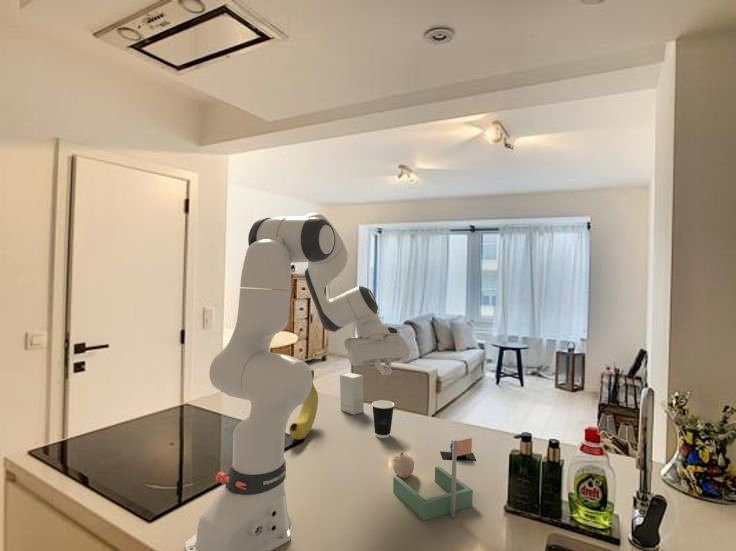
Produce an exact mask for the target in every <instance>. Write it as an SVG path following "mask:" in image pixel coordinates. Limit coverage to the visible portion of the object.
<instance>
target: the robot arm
mask: <svg viewBox="0 0 736 551" xmlns="http://www.w3.org/2000/svg"><path fill="white" fill-rule="evenodd" d="M247 242H248V247H247V249H246V253H245V256H244V261H243V265H242V269H241V276H240V284H239V287H240V288H239V298H238V308H237V317H236V323H235V328H234V329H233V330H234V331H233V332H232V336H231V337H230V339H229V342H228V343H227V345H226V346H225V347H224V348H223V350H221V351H220V352H219V353H217V354H216V355H215V357H214V358H213V360H212V362H211V363H210V364H211V365H210V368H209V381H210V383H211V386H213V387H214V388H215V389H216V390H218V391H220V392H221V393H223V394H226V395H227V396H229V397H232V398H237V399H241V400H245V401H249V402H250V405H251V406H250V412H249V415H248V417H246V418H245V419H243V420H242V421H240V422H239V423H238V424H237V425H236V426H235V428H234V430H233V433H232V463H231V464H230V466H229V471H228V473H225V472H224V471H219V472H218V473H217V475H216V476H215V480H216V482H218V483H221V484H223V485H224V484H225V486H224V487H223V488H222V489H221V490H220V492H219V493H218V494H217V496H215V498H214V499H213V500H212V502H211V503H210V504H209V505H208V506H207V508H205V510H204V511H203V512H202V514H201V515H200V518H199V520H198V524H197V530H196V533H195V534H194V535H193V536H192V537H190V538H189V539H188V540H186V541H185V542H184V546H183V547H184V548H183V550H184V551H273V550H275V549H277V548H278V547H281V546H282V545H284V544H286V543H288V542H289V541H290V540H291V538H292V537H291V530H290V527H291V526H290V525H291V519H290V516H289V512H288V507H287V496H286V489H285V480H286V476H287V475H286V474H287V467H286V466H287V465H286V464H287V463H286V459H285V442H286V441H285V438H286V429H287V424H288V421H289V420H290V419H289V418H290V417H291V415H292V414H293V412H294V411H295V409H297V407H299V406H301V405H302V404H303V402H304V401H305V400H306V398H307V397H308V395H309V394H310V391H311V388H312V383H313V384H314V378H312V372H311V370H312V369H311V368H310V366H309V364H308V363H307V362H305V361H303V360H301V359H299V358H297V357H295V356H291V355H289V354H283V353H278V352H270V347H271V344H272V341H273V339H274V337H275V336H276V335H277V334H279V333H281V332H282V331H284V330H285V329H286V328H287V327H288V324H289V322H290V308H291V293H292V291H291V289H292V272H291V271H292V269H291V265H292V263H307V264H308V265H307V268H306V269H305V270H304V278H305V282H306V286H307V288H308V290H309V294H310V296H311V299H312V301H313V304H314V306H315V308H316V312H317V318H318V321H319V323H320V325H321V327H323V328H324V329H323V330H326V331H329V332H334V333H336V332H337V331H339V330H341V329H342V328H344V327H346V326H348V325H350V324H351V323H352V324H353V326H355V329H356V331H355V332H356V335H357V336H355V337H347V338H346V339H345V340H344V346H345V349H346V350H347V357H348V360H349V364H350V365H351V366H352V367H355V366H356V367H357V366H366V365H374V367H375V368H376V369H377V370H378V371H379V372H380V374H381V375H382V376H386V375H391V374H392V373H393V370H392V363H397V362H405V361H407V360H408V359H409V358H410V354H411V351H410V348H409V346H408V344H407V342H406V340H405V338H404V337H403V336H401V335H400V334H401V331H400V329H398V328H397V327H392V326H388V325H385V324H383V323H382V321H381V320H380V318H379V313H378V311H379V310H378V309H379V306H378V303H377V301H376V299H375V297H374V293H373V292H372V290H371V289H369V288H367V287H365V286H362V285H359V286H356V287H354V288H351V289H349V290H347V291H345V292H343V293H341V294H339V295H337V296H334V297H333V298H329V299H327V296H326V294H325V291H324V290H326V289H325V288H326V287H327V286H329V285H330V283H331V282H332V281H333V280H335V279H336V278H337V277H338V276H340V274H342V272H343V271H344V270H345V267H346V266H347V264H348V257H349V256H348V255H349V254H348V251H347V248H346V245H345V243H344V241H343V239H342V237H341V236H340V234H339V232H338V231H337V229H336V228H335V227H334V225H333V224H332V223H331V222H330V221H329V220H328V218H326V216H325V215H323V214H321V213H318V212H309V213H307V214H305V215H303V216H292V215H291V216H290V215H287V216H285V215H284V216H277V217H265V218H262V219H258V220H257V221H255V222H253V224H252V225H251V227H250V230H249V232H248V238H247ZM383 364H384V365H383ZM384 366H385V367H384Z"/></svg>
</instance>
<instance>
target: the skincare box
mask: <svg viewBox="0 0 736 551" xmlns="http://www.w3.org/2000/svg"><path fill="white" fill-rule="evenodd" d="M339 387H340V388H339V391H340V399H339V400H340V411H342V412H344V413H348V414H350V415H353V416H354V415H358V414H361V413H364V411H365V410H364V375H363V374H357V373H353V372H347V373H343V374H340V375H339Z"/></svg>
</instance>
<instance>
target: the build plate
mask: <svg viewBox="0 0 736 551" xmlns="http://www.w3.org/2000/svg"><path fill="white" fill-rule="evenodd" d="M453 440H454V439H452V440H451V443H450V446H449V448H450V451H439V452H440V456H441V459H442V461H452V446H453ZM456 461H464V462H477V459H476V456H475V454H474V452H471V453H470V454H465V455H461V456H457V460H456Z"/></svg>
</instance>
